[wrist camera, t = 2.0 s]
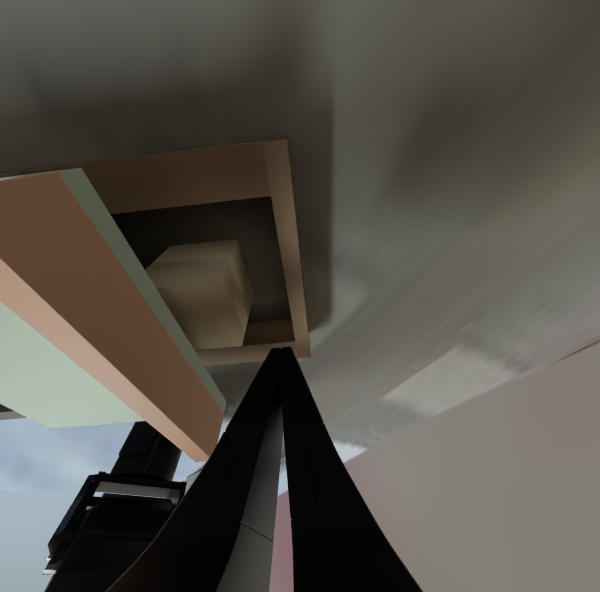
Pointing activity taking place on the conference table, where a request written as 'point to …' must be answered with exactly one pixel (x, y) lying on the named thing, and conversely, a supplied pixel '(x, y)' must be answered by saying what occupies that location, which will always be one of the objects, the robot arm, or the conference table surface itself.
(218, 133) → the conference table surface
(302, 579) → the robot arm
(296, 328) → the wooden box
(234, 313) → the beech block
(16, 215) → the sliding cover
